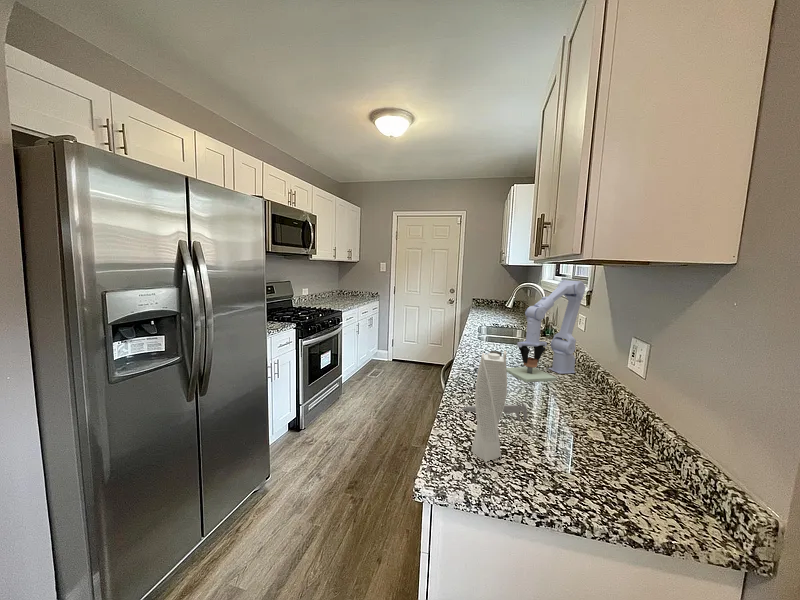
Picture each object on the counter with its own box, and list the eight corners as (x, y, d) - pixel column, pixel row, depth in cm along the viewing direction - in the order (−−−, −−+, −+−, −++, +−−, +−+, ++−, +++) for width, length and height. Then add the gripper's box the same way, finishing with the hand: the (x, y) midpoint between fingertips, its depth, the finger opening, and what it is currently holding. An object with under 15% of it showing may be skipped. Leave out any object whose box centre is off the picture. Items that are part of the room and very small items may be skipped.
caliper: (526, 420, 107) (527, 402, 106) (526, 422, 106) (527, 403, 105) (461, 409, 113) (463, 391, 113) (461, 410, 112) (462, 392, 111)
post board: (532, 369, 163) (533, 357, 162) (556, 380, 148) (557, 367, 147) (504, 370, 158) (505, 358, 158) (525, 382, 143) (527, 369, 142)
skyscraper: (508, 459, 84) (518, 351, 81) (486, 467, 80) (496, 353, 77) (486, 444, 91) (494, 343, 88) (465, 450, 87) (472, 345, 84)
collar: (531, 363, 156) (531, 357, 156) (539, 367, 151) (540, 360, 150) (521, 364, 154) (521, 357, 154) (529, 367, 149) (529, 361, 149)
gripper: (525, 334, 145) (522, 365, 146) (552, 334, 149) (549, 364, 151) (515, 331, 152) (512, 360, 153) (541, 331, 156) (539, 359, 157)
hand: (530, 362), depth 152 cm, fingers closed on collar, 6 cm apart
